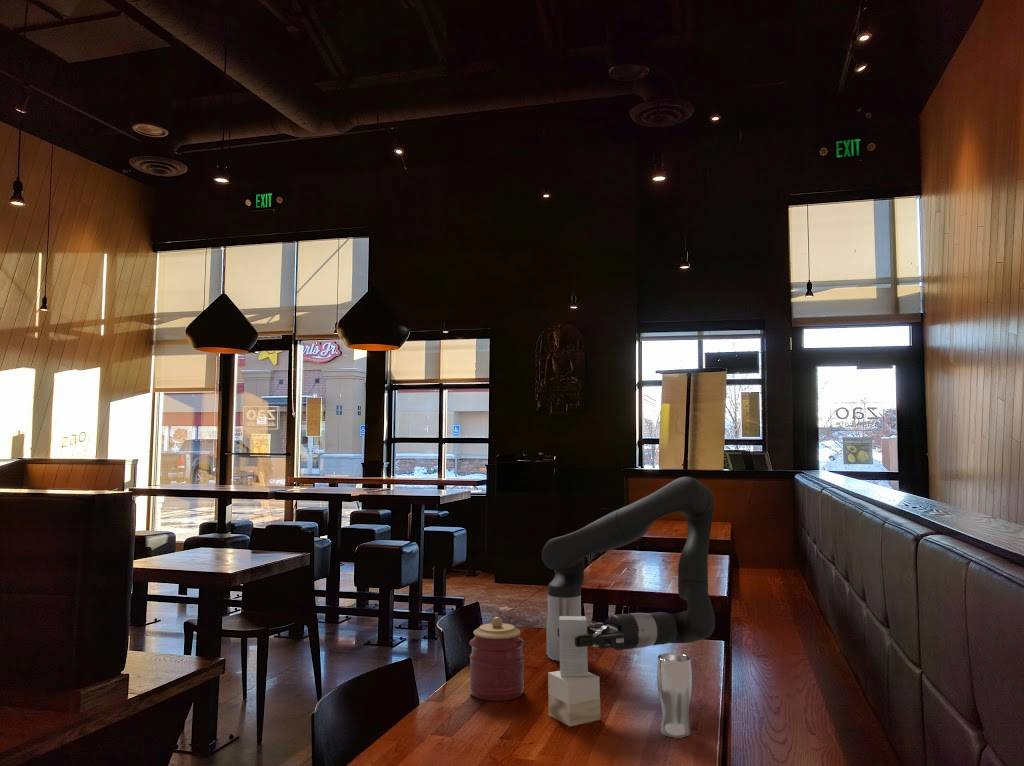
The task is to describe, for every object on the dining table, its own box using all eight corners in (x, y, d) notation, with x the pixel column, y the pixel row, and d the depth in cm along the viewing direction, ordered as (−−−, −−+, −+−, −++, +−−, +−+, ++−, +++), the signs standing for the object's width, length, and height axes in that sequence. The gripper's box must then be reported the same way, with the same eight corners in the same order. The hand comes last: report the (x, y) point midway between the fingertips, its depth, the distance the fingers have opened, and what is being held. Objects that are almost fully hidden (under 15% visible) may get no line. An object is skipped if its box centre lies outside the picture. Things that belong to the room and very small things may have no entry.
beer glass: (694, 729, 155) (693, 654, 156) (691, 741, 148) (689, 663, 150) (660, 725, 157) (659, 651, 159) (655, 737, 151) (654, 660, 152)
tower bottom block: (548, 715, 163) (548, 694, 164) (578, 709, 167) (578, 688, 168) (569, 727, 156) (569, 704, 157) (600, 720, 161) (600, 698, 161)
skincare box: (586, 671, 165) (586, 615, 166) (588, 677, 161) (587, 619, 162) (559, 671, 165) (558, 615, 166) (559, 677, 161) (559, 619, 162)
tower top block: (548, 693, 164) (548, 672, 164) (578, 688, 168) (578, 667, 168) (568, 704, 157) (568, 682, 157) (599, 698, 161) (599, 676, 161)
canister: (457, 693, 178) (458, 617, 179) (496, 681, 187) (496, 609, 189) (497, 706, 169) (497, 625, 171) (535, 692, 178) (535, 616, 180)
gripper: (615, 607, 176) (552, 612, 170) (648, 620, 162) (581, 626, 156) (616, 640, 175) (552, 647, 169) (649, 655, 162) (581, 663, 156)
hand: (566, 637), depth 163 cm, fingers open, 8 cm apart
